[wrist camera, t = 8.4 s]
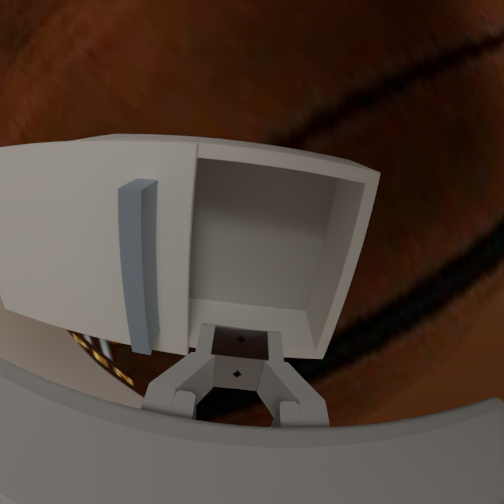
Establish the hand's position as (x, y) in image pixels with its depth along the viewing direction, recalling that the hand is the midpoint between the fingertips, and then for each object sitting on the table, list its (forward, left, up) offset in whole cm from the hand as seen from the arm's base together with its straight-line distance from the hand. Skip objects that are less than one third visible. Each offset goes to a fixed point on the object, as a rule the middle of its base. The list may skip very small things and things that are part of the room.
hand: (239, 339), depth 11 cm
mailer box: (+1, -2, -13) cm, 13 cm away
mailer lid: (+1, -12, -6) cm, 14 cm away
